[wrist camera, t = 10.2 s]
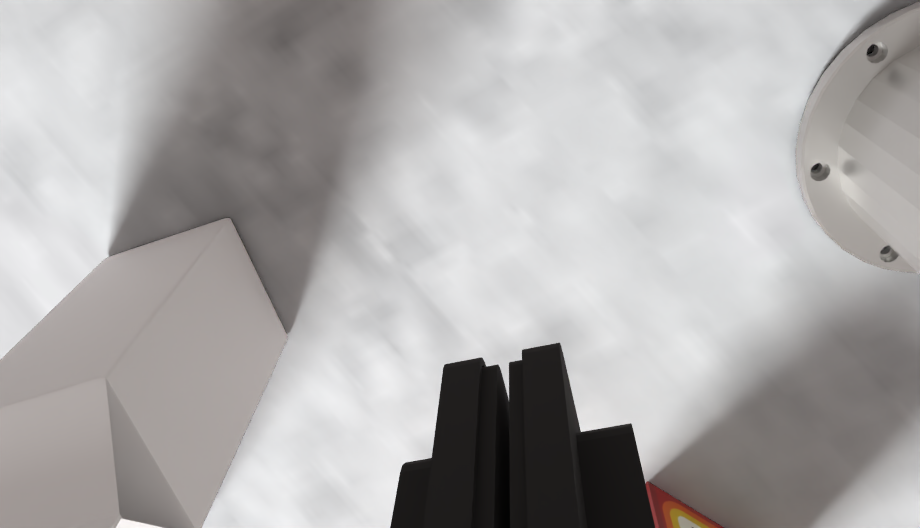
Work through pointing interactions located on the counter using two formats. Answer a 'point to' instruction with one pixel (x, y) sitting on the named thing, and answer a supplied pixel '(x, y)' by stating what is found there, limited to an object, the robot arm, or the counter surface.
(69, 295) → the milk carton
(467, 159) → the counter surface
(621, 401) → the counter surface
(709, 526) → the baking soda box
